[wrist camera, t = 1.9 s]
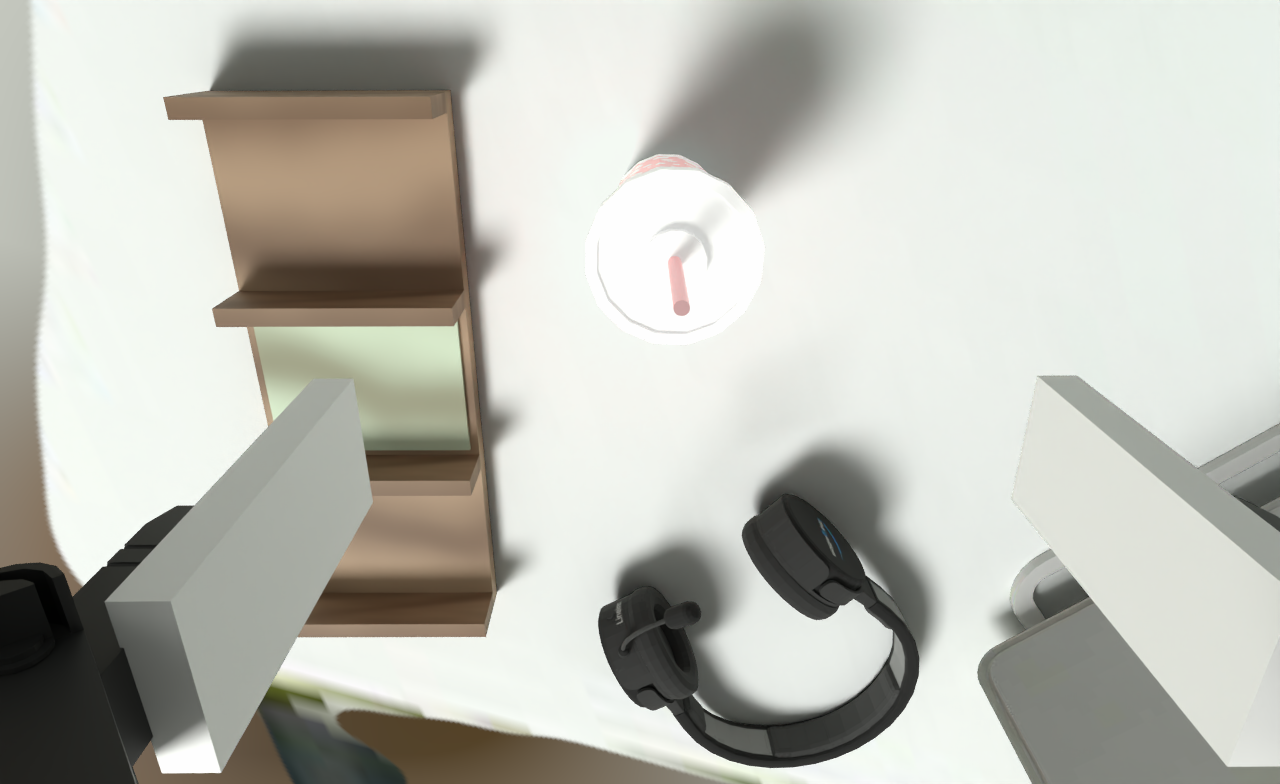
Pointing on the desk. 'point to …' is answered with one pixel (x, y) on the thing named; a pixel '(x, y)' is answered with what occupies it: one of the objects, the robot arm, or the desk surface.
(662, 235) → the beverage cup
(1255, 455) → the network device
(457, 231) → the slot rack
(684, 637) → the headset
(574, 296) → the desk surface
